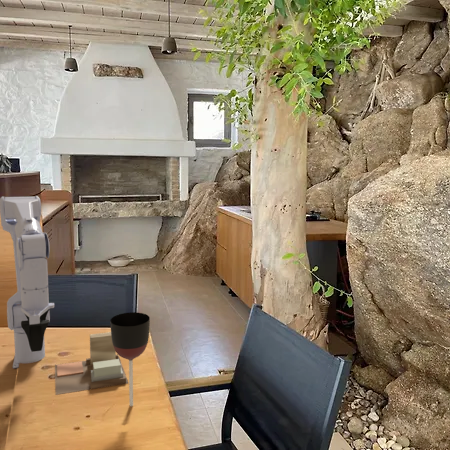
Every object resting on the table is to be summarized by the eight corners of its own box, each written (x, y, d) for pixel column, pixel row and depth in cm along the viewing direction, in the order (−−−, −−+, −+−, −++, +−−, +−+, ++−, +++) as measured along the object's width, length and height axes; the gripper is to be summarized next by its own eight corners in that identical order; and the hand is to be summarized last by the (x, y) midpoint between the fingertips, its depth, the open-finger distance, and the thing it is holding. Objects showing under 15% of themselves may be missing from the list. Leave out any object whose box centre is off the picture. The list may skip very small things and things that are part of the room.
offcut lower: (91, 378, 108) (90, 370, 107) (120, 373, 110) (120, 366, 110) (92, 386, 104) (92, 377, 104) (123, 381, 106) (123, 373, 106)
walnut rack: (55, 368, 115) (54, 360, 114) (118, 359, 120) (118, 351, 120) (55, 398, 100) (55, 389, 100) (128, 387, 106) (128, 378, 105)
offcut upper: (93, 370, 107) (92, 362, 107) (118, 366, 110) (118, 358, 109) (94, 377, 104) (94, 368, 104) (120, 373, 106) (120, 365, 106)
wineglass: (152, 399, 101) (152, 312, 98) (147, 420, 92) (146, 326, 89) (116, 399, 100) (115, 312, 98) (108, 421, 92) (106, 326, 89)
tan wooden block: (90, 364, 115) (89, 334, 114) (114, 361, 117) (114, 331, 116) (91, 368, 113) (90, 337, 112) (115, 365, 115) (115, 334, 114)
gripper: (53, 293, 97) (55, 354, 99) (53, 277, 110) (55, 331, 112) (17, 296, 94) (20, 358, 96) (21, 280, 108) (24, 334, 110)
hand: (37, 344), depth 104 cm, fingers open, 7 cm apart
